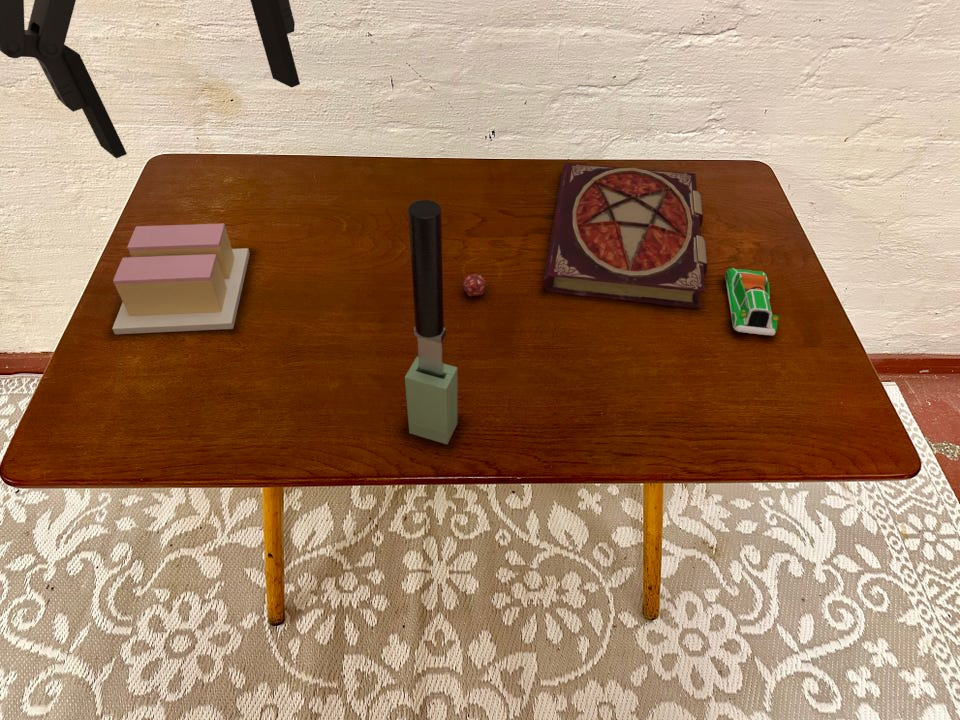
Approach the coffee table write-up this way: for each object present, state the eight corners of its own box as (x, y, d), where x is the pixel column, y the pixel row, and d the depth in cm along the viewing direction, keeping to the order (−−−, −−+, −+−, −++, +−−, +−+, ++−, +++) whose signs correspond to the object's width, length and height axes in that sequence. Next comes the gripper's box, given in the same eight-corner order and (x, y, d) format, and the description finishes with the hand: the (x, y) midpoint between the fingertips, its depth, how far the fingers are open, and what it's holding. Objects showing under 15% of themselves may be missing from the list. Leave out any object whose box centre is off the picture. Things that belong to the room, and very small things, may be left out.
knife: (440, 429, 71) (435, 221, 52) (416, 422, 72) (401, 213, 53) (449, 411, 73) (447, 203, 54) (425, 404, 74) (414, 196, 55)
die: (489, 296, 89) (490, 279, 87) (468, 303, 88) (469, 286, 86) (479, 283, 91) (479, 266, 89) (458, 290, 90) (458, 272, 88)
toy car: (773, 343, 84) (785, 317, 81) (731, 338, 85) (742, 312, 82) (760, 281, 93) (771, 256, 89) (721, 277, 93) (731, 251, 90)
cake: (233, 329, 84) (219, 287, 79) (114, 334, 83) (93, 293, 78) (250, 253, 94) (238, 213, 89) (144, 257, 93) (127, 217, 88)
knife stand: (447, 444, 72) (446, 389, 66) (409, 433, 73) (404, 377, 67) (457, 423, 74) (457, 367, 68) (420, 412, 75) (417, 355, 69)
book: (561, 180, 110) (564, 152, 106) (695, 192, 107) (703, 163, 104) (542, 294, 91) (544, 264, 87) (705, 312, 88) (714, 282, 84)
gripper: (237, -312, 42) (320, 46, 57) (-258, -267, 30) (9, 165, 45) (304, -321, 37) (375, 68, 52) (-240, -273, 26) (47, 205, 41)
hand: (205, 114), depth 49 cm, fingers open, 13 cm apart
